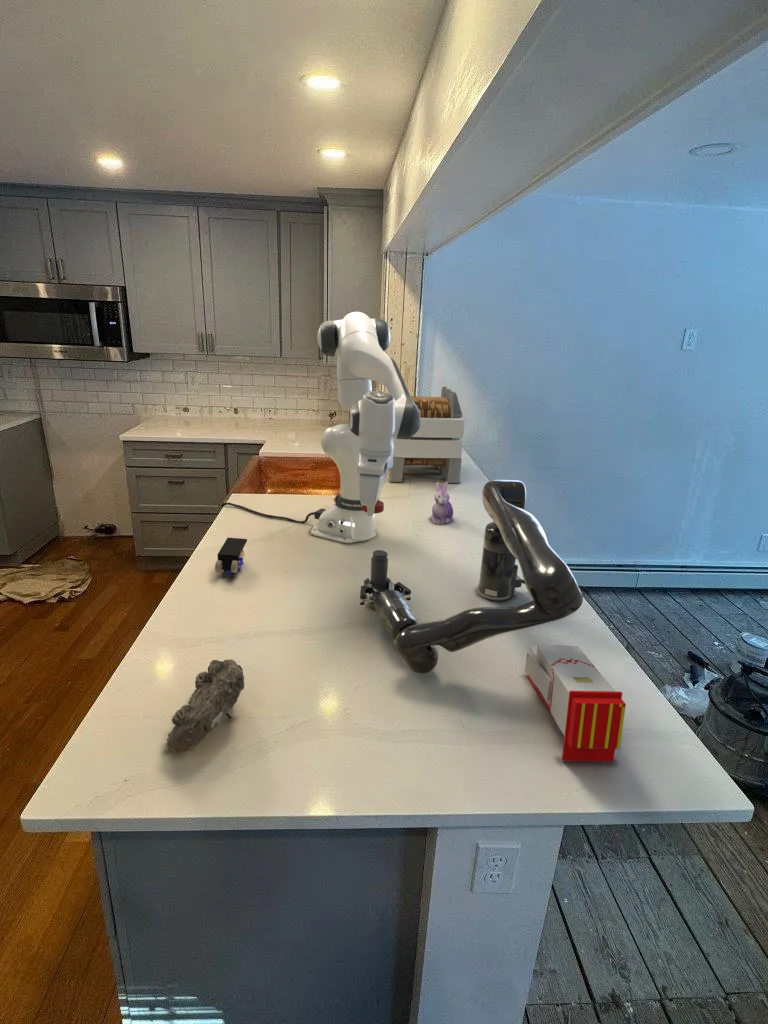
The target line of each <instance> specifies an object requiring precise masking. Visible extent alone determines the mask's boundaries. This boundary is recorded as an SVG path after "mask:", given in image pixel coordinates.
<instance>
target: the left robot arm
mask: <svg viewBox="0 0 768 1024" xmlns="http://www.w3.org/2000/svg"><path fill="white" fill-rule="evenodd" d="M316 337H317V344H318V347H319V349H320V351H321V353H322V354H323V355H324V356H327V357H337V360H336V361H337V362H336V383H337V396H338V403H339V406H340V407H341V408H342V409H343V410H344V411H346V412H348V413H349V418H348V423H342V424H341V423H340V424H336V425H333V426H331V427H327V428H326V429H325V430H324V431H323V433H322V435H321V441H320V443H321V444H320V445H321V448H322V450H323V453H324V454H325V455H326V456H327V457H329V458H330V459H331V460H332V461H333V462H334V464H335V465H336V467H337V470H338V473H339V482H340V484H339V485H340V488H339V489H340V490H339V491H338V492H337V494H336V495H335V496H334V497H333V502H334V504H333V505H331V506H329V507H328V508H319V509H318V510H316V511H313V512H310V513H308V514H307V515H306V516H305V519H304V520H296V519H293V518H290V517H286V516H279V515H273V514H272V515H271V514H266V513H263V512H259V511H257V510H254V509H251V508H248V507H246V506H243V505H240V504H236V503H232V502H223V503H222V504H220V507H225V506H231V507H235V508H239V509H242V510H245V511H247V512H249V513H253V514H256V515H259V516H262V517H265V518H266V517H267V518H270V519H279V520H285V521H290V522H293V523H297V524H306V523H307V522H308V521H309V518H310V517H311V516H313V515H314V517H313V518H314V519H315V520H318V521H317V523H315V524H314V525H313V526H312V528H311V530H310V533H311V536H315V537H319V538H323V539H326V540H330V541H336V542H339V543H343V544H352V543H357V542H365V541H368V540H372V539H373V538H375V537H376V535H377V532H376V528H375V523H374V517H375V514H376V513H375V505H376V502H377V500H379V501H380V496H381V493H382V491H383V488H384V486H385V483H386V480H387V473H388V471H389V470H390V468H392V467H393V455H394V444H393V438H396V439H405V440H408V439H410V438H411V437H412V436H413V435H415V434H416V433H417V431H418V430H419V428H420V413H419V410H418V407H417V406H416V404H415V403H414V401H413V400H412V398H411V394H410V391H409V389H408V386H407V385H406V381H405V379H404V378H403V374H402V373H401V370H400V368H399V366H398V365H397V362H396V361H395V359H394V358H392V357H391V356H390V355H388V354H387V353H386V351H387V350H388V348H389V345H390V342H391V331H390V328H389V325H388V322H386V320H385V319H383V318H378V317H374V318H371V317H369V316H368V315H367V314H366V313H364V312H361V311H351V312H350V313H347V314H346V315H345V316H344V317H343V318H342V319H336V320H333V319H330V320H326V321H324V322H322V323H321V324H320V325H319V329H318V331H317V336H316ZM372 382H376V383H378V384H381V385H382V386H384V387H385V388H386V389H387V392H385V391H381V390H373V383H372ZM362 505H365V506H367V512H365V511H363V509H362Z"/></svg>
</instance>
